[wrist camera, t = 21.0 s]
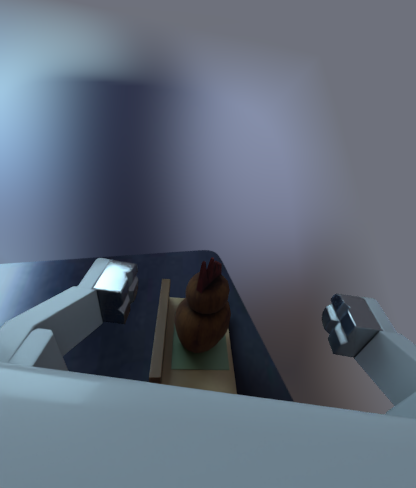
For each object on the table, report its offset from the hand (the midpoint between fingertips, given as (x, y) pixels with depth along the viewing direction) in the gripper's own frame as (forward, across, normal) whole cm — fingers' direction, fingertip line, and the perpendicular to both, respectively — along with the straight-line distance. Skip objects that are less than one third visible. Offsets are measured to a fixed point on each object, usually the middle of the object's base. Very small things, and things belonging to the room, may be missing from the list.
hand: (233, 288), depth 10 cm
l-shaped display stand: (+12, +1, +26) cm, 29 cm away
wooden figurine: (+12, 0, +23) cm, 26 cm away
